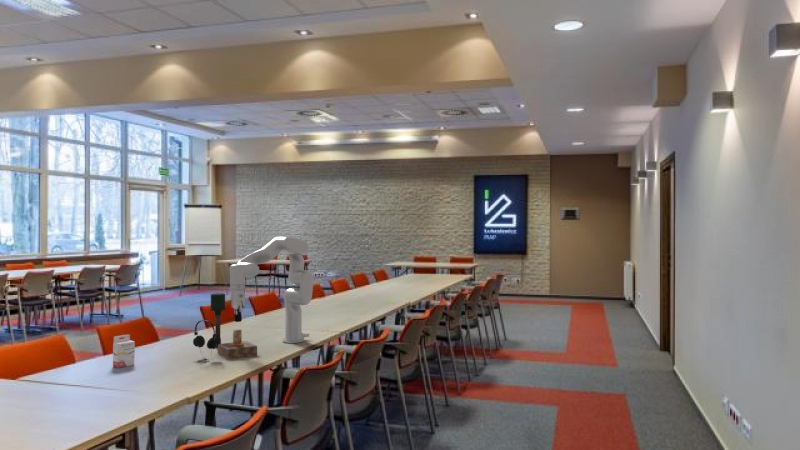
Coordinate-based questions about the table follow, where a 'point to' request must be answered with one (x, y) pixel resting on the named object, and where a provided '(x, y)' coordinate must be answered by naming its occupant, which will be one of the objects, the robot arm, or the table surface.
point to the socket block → (237, 350)
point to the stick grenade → (218, 311)
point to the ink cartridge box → (123, 351)
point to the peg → (237, 338)
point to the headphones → (200, 341)
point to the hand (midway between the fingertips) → (238, 321)
